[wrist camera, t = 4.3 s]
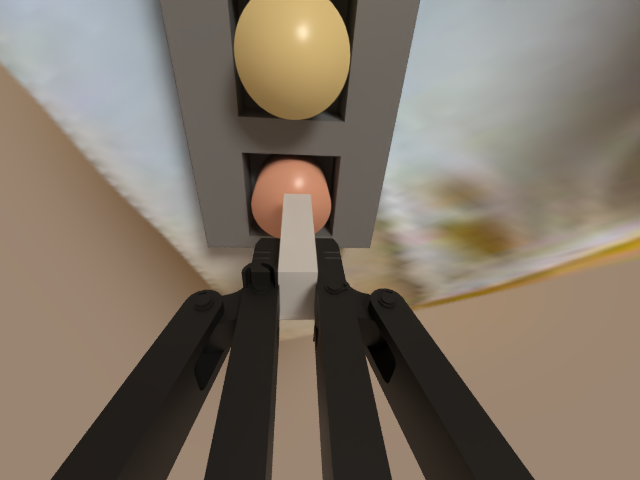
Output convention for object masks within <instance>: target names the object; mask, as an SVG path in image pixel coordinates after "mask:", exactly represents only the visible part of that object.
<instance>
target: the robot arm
mask: <svg viewBox="0 0 640 480" xmlns="http://www.w3.org/2000/svg"><path fill="white" fill-rule="evenodd" d="M242 280H243V288H242V289H241V290H239V291H237V292H235V293H232V294H229V295H224V296H221V295H220V294H219V293H218V292H216V291H213V290H202V291H198V292H196V293H194V294H192V295H191V296H190V297H189V298H188V299H187V300H186V301H185V302H184V303H183V305H182V306H181V307H180V309H179V310H178V311H177V313H176V314H175V315H174V317H173V318H172V319H171V321H170V322H169V323H168V325H167V326H166V327H165V329H164V330H163V331H162V333H161V334H160V335H159V337H158V338H157V339H156V341H155V342H154V343H153V345H152V346H151V347H150V349H149V350H148V351H147V352H146V354H145V355H144V356H143V358H142V359H141V360H140V362H139V363H138V365H137V366H136V367H135V368H134V370H133V371H132V372H131V374H130V375H129V376H128V378H127V379H126V380H125V382H124V383H123V384H122V386H121V387H120V388H119V390H118V391H117V392H116V394H115V395H114V396H113V398H112V399H111V400H110V402H109V403H108V404H107V406H106V407H105V408H104V410H103V411H102V412H101V414H100V415H99V416H98V418H97V419H96V420H95V422H94V423H93V424H92V425H91V427H90V428H89V429H88V431H87V432H86V434H85V435H84V436H83V437H82V439H81V440H80V441H79V443H78V444H77V445H76V447H75V448H74V449H73V451H72V452H71V453H70V455H69V456H68V458H67V459H66V460H65V461H64V463H63V464H62V465H61V467H60V468H59V470H58V471H57V472H56V473H55V475H54V476H53V477H52V479H51V480H166V479H167V477H168V475H169V473H170V471H171V469H172V467H173V465H174V463H175V461H176V459H177V456H178V455H179V453H180V450H181V448H182V446H183V444H184V442H185V440H186V438H187V436H188V434H189V432H190V430H191V428H192V426H193V424H194V422H195V420H196V418H197V416H198V414H199V412H200V409H201V407H202V405H203V403H204V401H205V399H206V397H207V395H208V393H209V391H210V389H211V387H212V385H213V383H214V381H215V379H216V377H217V375H218V372H219V371H220V368H221V366H222V364H223V362H224V360H225V358H226V356H227V354H228V352H229V350H230V347H231V351H230V356H229V362H228V366H227V371H226V376H225V381H224V385H223V390H222V395H221V400H220V405H219V410H218V414H217V419H216V425H215V429H214V434H213V439H212V444H211V448H210V453H209V458H208V463H207V468H206V473H205V478H204V480H271V478H272V458H273V441H274V440H273V439H274V421H275V404H276V385H277V365H278V348H279V320H303V319H314V318H315V325H314V337H313V341H315V353H316V370H317V371H316V372H317V389H318V405H319V423H320V441H321V458H322V474H323V480H392V478H391V473H390V468H389V463H388V459H387V454H386V450H385V445H384V440H383V436H382V431H381V426H380V422H379V417H378V412H377V408H376V403H375V398H374V394H373V389H372V384H371V380H370V375H369V371H368V366H367V361H366V357H367V359H368V361H369V363H370V365H371V367H372V369H373V371H374V373H375V375H376V377H377V380H378V381H379V384H380V386H381V388H382V390H383V392H384V394H385V396H386V398H387V400H388V402H389V404H390V406H391V408H392V411H393V413H394V415H395V417H396V419H397V421H398V423H399V425H400V427H401V429H402V431H403V433H404V435H405V437H406V439H407V442H408V444H409V446H410V448H411V450H412V452H413V454H414V456H415V458H416V460H417V462H418V464H419V466H420V468H421V471H422V473H423V475H424V477H425V479H426V480H535V479H534V478H533V477H532V475H531V474H530V473H529V471H528V470H527V468H526V467H525V466H524V464H523V463H522V462H521V460H520V459H519V457H518V456H517V455H516V453H515V452H514V451H513V449H512V448H511V446H510V445H509V444H508V442H507V441H506V439H505V438H504V437H503V435H502V434H501V433H500V431H499V430H498V428H497V427H496V426H495V424H494V423H493V422H492V420H491V419H490V417H489V416H488V415H487V413H486V412H485V411H484V409H483V408H482V406H481V405H480V404H479V402H478V401H477V399H476V398H475V397H474V396H473V394H472V393H471V391H470V390H469V388H468V387H467V386H466V384H465V383H464V382H463V380H462V379H461V377H460V376H459V375H458V374H457V372H456V371H455V369H454V368H453V366H452V365H451V364H450V362H449V361H448V360H447V358H446V357H445V355H444V354H443V353H442V352H441V350H440V349H439V347H438V346H437V344H436V343H435V342H434V340H433V339H432V337H431V336H430V335H429V333H428V332H427V331H426V329H425V328H424V327H423V325H422V324H421V322H420V321H419V320H418V319H417V317H416V315H415V314H414V313H413V311H412V310H411V309H410V307H409V306H408V304H407V303H406V302H405V300H404V299H403V298H402V297H401V296H400V295H399V294H398V293H397V292H395V291H393V290H390V289H378V290H375V291H374V292H373V293H372V294H371V295H369V294H365V293H361V292H359V291H356V290H354V289H353V288H351V287H350V285H349V283H348V282H346V279H345V275H344V270H343V265H342V260H341V255H340V250H339V245H338V244H337V242H336V241H335V240H334V239H333V238H315V235H314V224H313V213H312V203H311V194H285V193H284V201H283V213H282V226H281V238H261V239H260V240H259V241H258V242H257V243H256V244H255V249H254V255H253V260H252V263H250V264H248V265H247V266H245V267H244V268H243V270H242ZM365 355H366V356H365Z"/></svg>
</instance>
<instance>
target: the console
mask: <svg viewBox="0 0 640 480" xmlns="http://www.w3.org/2000/svg"><path fill="white" fill-rule="evenodd" d="M249 1H250V0H160V5H161V10H162V15H163V20H164V25H165V30H166V35H167V40H168V45H169V50H170V55H171V60H172V66H173V71H174V76H175V81H176V86H177V91H178V96H179V101H180V106H181V111H182V116H183V121H184V127H185V132H186V137H187V142H188V147H189V152H190V157H191V162H192V167H193V172H194V177H195V182H196V187H197V193H198V198H199V203H200V208H201V213H202V218H203V223H204V228H205V233H206V238H207V243H208V247H255V244H256V243H257V242H258V241H259V240H260V239H261V238H276V237H274V236H272V235H270V234H268V233H267V232H265V231H264V230H263V229H262V228H261V227H260V226H259V225H258V223H257V222H256V220H255V218H254V216H253V213H252V207H251V202H252V196H253V192H254V189H255V185H256V181H257V177H258V173H259V170H260V167H261V165H262V164H263V162H264V161H265V160H266V159H267V158H268V157H269V156H270V155H271V154H293V155H312V156H313V157H314V158H315V159H316V160H317V161H318V162H319V163H320V165H321V167H322V169H323V171H324V175H325V179H326V183H327V187H328V191H329V195H330V199H331V212H330V215H329V218H328V220H327V222H326V223H325V225H324V226H323V227H322V228H321V229H320V230H319V231H318V232H317V233H315V234H314V235H315V238H333V239H334V240H335V241H336V242H337V244H338V245H339V248H370V244H371V240H372V235H373V230H374V225H375V220H376V215H377V210H378V205H379V200H380V195H381V190H382V185H383V181H384V176H385V171H386V166H387V161H388V156H389V151H390V146H391V141H392V136H393V131H394V126H395V122H396V117H397V112H398V107H399V102H400V97H401V92H402V87H403V82H404V77H405V72H406V68H407V63H408V58H409V53H410V48H411V43H412V38H413V33H414V28H415V23H416V18H417V13H418V9H419V4H420V0H329V1H330V2H331V3H332V4H333V5H334V7H335V8H336V9H337V11H338V12H339V14H340V16H341V18H342V20H343V22H344V25H345V27H346V30H347V34H348V38H349V44H350V65H349V71H348V75H347V79H346V81H345V84H344V86H343V88H342V90H341V92H340V94H339V95H338V97H337V98H336V99H335V101H334V102H333V103H332V104H331V105H330V106H329V107H328V108H327V109H325V110H324V111H322V112H321V113H319V114H317V115H315V116H313V117H310V118H307V119H301V120H289V119H284V118H280V117H277V116H275V115H272V114H271V113H269V112H267V111H265V110H264V109H263V108H261V107H260V106H259V105H258V104H257V103H256V102H255V101H254V100H253V99H252V98H251V96H250V95H249V94H248V92H247V91H246V89H245V87H244V85H243V83H242V82H241V79H240V77H239V74H238V71H237V67H236V63H235V56H234V39H235V32H236V28H237V24H238V21H239V18H240V16H241V14H242V12H243V10H244V9H245V7H246V6H247V4H248V3H249Z"/></svg>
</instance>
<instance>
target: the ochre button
mask: <svg viewBox="0 0 640 480" xmlns="http://www.w3.org/2000/svg"><path fill="white" fill-rule="evenodd" d="M234 56H235V63H236V67H237V71H238V74H239V77H240V79H241V82H242V83H243V85H244V87H245V89H246V91H247V92H248V94H249V95H250V96H251V98H252V99H253V100H254V101H255V102H256V103H257V104H258V105H259V106H260V107H261V108H263V109H264V110H265V111H267V112H269V113H271V114H272V115H275V116H277V117H280V118H284V119H289V120H301V119H307V118H310V117H313V116H315V115H317V114H319V113H321V112H322V111H324V110H325V109H327V108H328V107H329V106H330V105H331V104H332V103H333V102H334V101H335V99H336V98H337V97H338V95H339V94H340V92H341V90H342V88H343V86H344V84H345V81H346V79H347V75H348V71H349V65H350V44H349V38H348V34H347V30H346V27H345V25H344V22H343V20H342V18H341V16H340V14H339V12H338V11H337V9H336V8H335V7H334V5H333V4H332V3H331V2H330V1H329V0H250V1H249V3H248V4H247V6H246V7H245V9H244V10H243V12H242V14H241V16H240V18H239V21H238V24H237V28H236V32H235V39H234Z"/></svg>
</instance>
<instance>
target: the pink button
mask: <svg viewBox="0 0 640 480" xmlns="http://www.w3.org/2000/svg"><path fill="white" fill-rule="evenodd" d="M284 193H285V194H311V203H312V213H313V224H314V234H315V233H317V232H318V231H319V230H320V229H321V228H322V227H323V226H324V225H325V223H326V222H327V220H328V218H329V215H330V212H331V199H330V195H329V191H328V187H327V183H326V179H325V175H324V171H323V169H322V167H321V165H320V163H319V162H318V161H317V160H316V159H315V158H314V157H313V156H312V155H293V154H271V155H270V156H269V157H268V158H267V159H266V160H265V161H264V162H263V164H262V165H261V167H260V170H259V173H258V177H257V181H256V185H255V189H254V192H253V196H252V202H251V207H252V213H253V216H254V218H255V220H256V222H257V223H258V225H259V226H260V227H261V228H262V229H263V230H264V231H265V232H267V233H268V234H270V235H272V236H274V237H276V238H281V226H282V213H283V201H284Z"/></svg>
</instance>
